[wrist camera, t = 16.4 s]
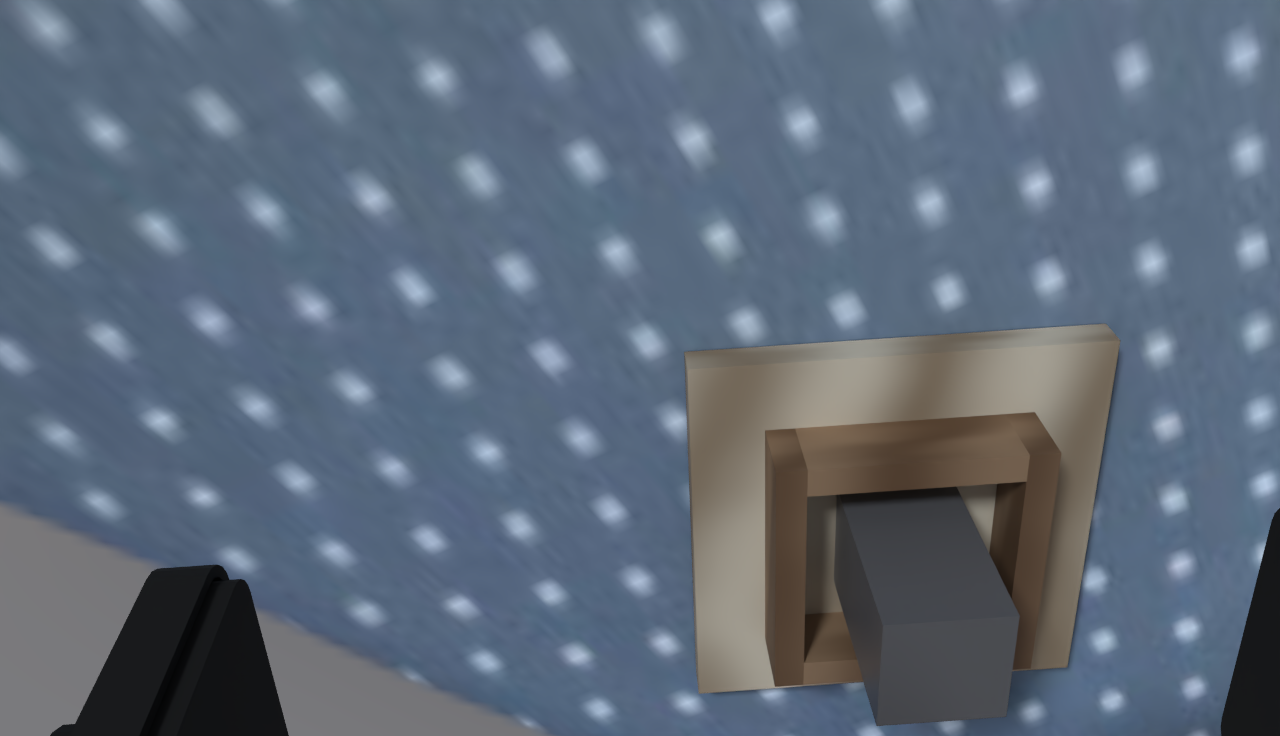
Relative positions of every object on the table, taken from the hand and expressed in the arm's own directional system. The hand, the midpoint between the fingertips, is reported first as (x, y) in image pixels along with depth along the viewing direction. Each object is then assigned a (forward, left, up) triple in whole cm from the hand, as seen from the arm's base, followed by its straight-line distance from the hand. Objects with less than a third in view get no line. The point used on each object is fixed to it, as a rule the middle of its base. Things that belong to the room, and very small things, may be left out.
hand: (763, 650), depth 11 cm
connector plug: (-8, +18, -25) cm, 32 cm away
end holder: (-8, +18, -26) cm, 33 cm away
